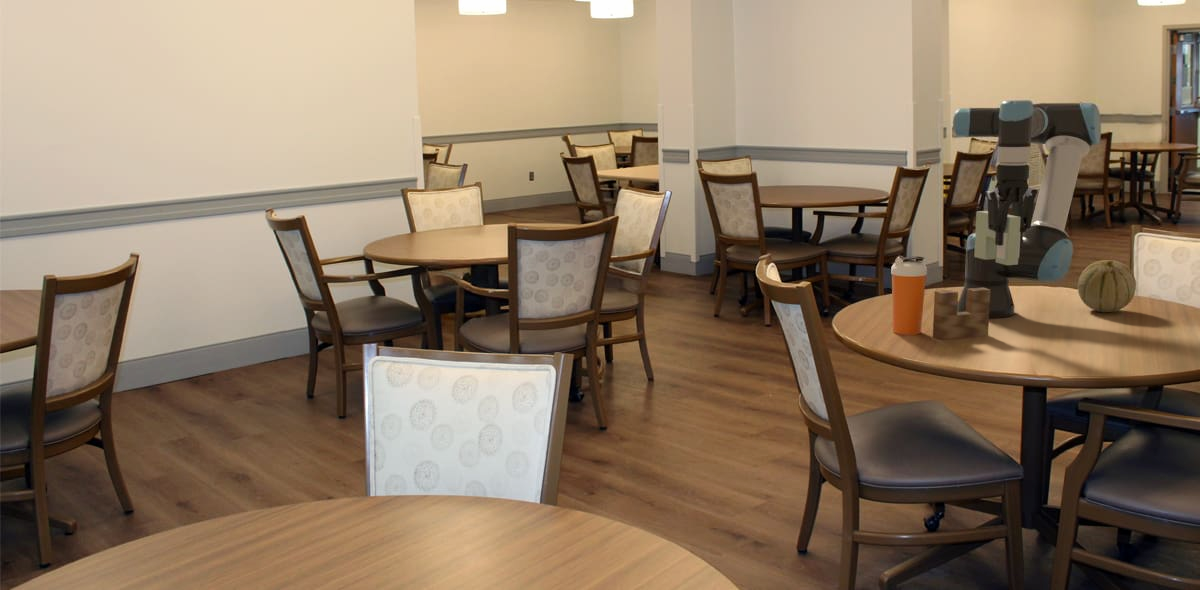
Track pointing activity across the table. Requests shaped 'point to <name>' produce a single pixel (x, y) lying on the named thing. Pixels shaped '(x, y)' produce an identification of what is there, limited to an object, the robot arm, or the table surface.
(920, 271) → the shaker bottle
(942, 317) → the brown wooden slotted board
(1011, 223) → the slot plate
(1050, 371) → the table surface
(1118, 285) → the cantaloupe
